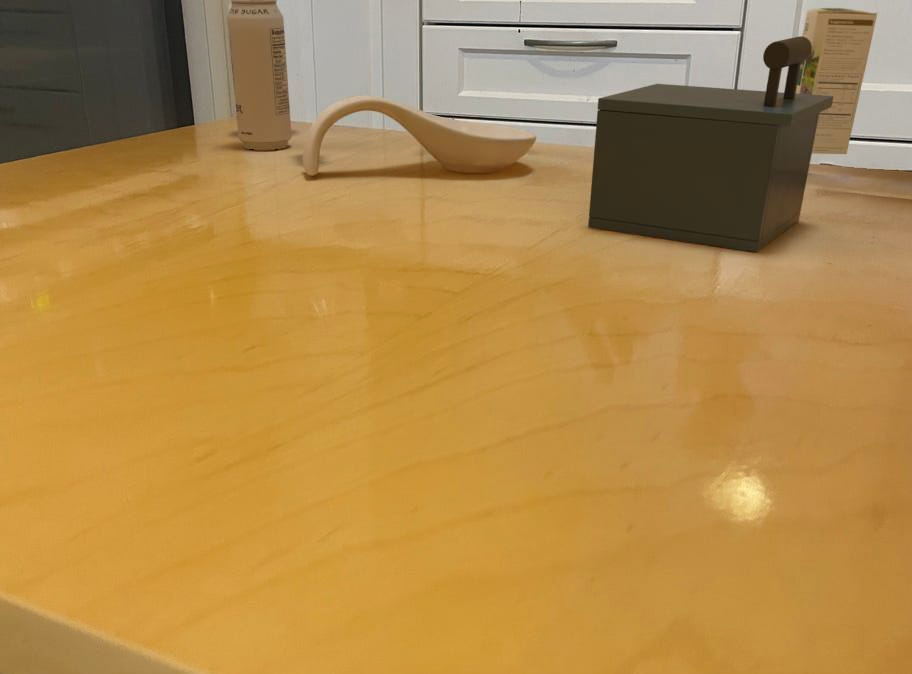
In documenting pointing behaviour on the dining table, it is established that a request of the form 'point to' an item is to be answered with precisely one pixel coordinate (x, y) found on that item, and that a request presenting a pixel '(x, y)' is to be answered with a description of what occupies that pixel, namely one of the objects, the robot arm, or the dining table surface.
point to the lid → (733, 94)
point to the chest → (699, 178)
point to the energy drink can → (259, 74)
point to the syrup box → (836, 70)
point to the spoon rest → (430, 136)
